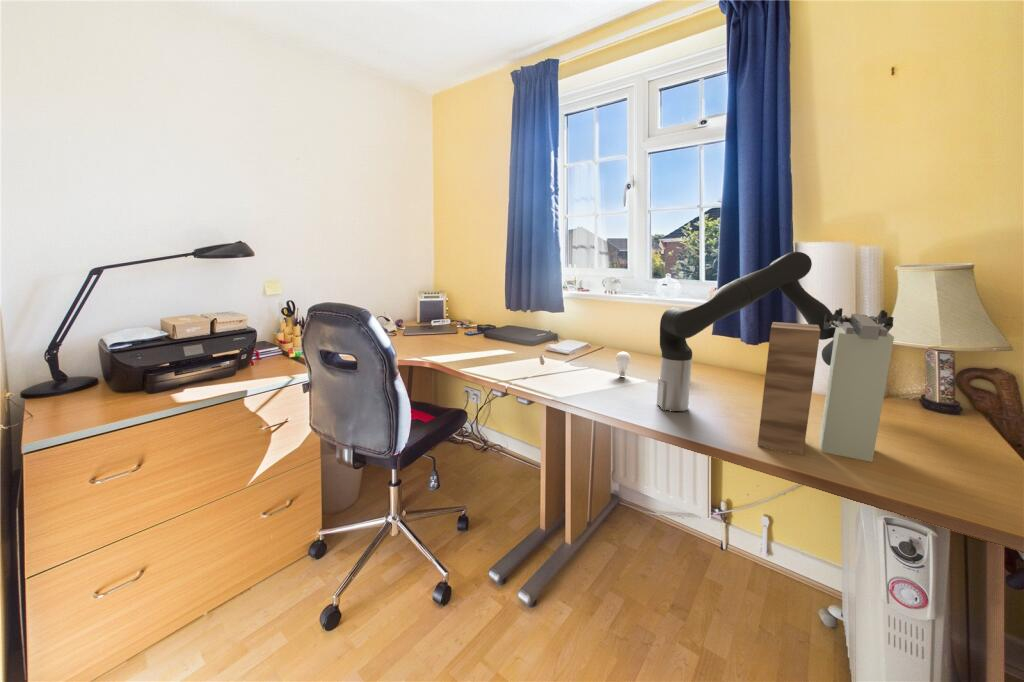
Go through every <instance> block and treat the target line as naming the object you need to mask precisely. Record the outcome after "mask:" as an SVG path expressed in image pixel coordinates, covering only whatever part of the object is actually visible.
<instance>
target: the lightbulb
mask: <svg viewBox="0 0 1024 682" xmlns="http://www.w3.org/2000/svg"><path fill="white" fill-rule="evenodd" d="M631 360H632V357H631V355H630V354H629V353H628V352H626V351H620V352H618V353H617V354H616V355H615V357H614V362H615V364H616V365H617V367H618V376H619V375H620V376H625V375H626V373H627V369H628V367H629V365H630V364H631V363H632V361H631ZM620 376H619V377H620ZM625 377H626V376H625Z"/></svg>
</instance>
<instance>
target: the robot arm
mask: <svg viewBox="0 0 1024 682" xmlns="http://www.w3.org/2000/svg"><path fill="white" fill-rule="evenodd" d="M812 266H813V262H812V258H811V257H810V256H809V255H808V254H806V253H804V252H802V251H791V252H788V253H786V254H784V255H782V256H780V257H778V258H776V259H774V260H773V261H772V262H771V263H769V265H767V266H766V267H764V268H762V269H760V270H759V269H758V270H756V271H754V272H750V273H748V274H746V275H744V276H741V277H739V278H735V279H734V280H732V281H731V282H728V283H726V284H724V285H723V286H722V285H721V287H719V288H718V289H717V290H716V291H715V292H714V293H713V295H712V296H711V298H710V299H708V300H707V301H705V302H703V303H702V304H700V305H699V304H698V306H695V307H692V308H689V309H687V308H681V307H670V308H668V309H666V310H665V311H664V312H663V313H662V316H661V318H660V323H659V347H660V350H661V359H660V361H661V362H660V373H659V375H660V376H659V377H658V379H657V393H656V405H657V404H658V405H659V406H660V407H661V409H666V410H671V411H684V412H686V411H685V410H687V409H688V410H689V403H690V402H689V400H690V386H691V375H692V362H693V350H692V348H691V347H690V346H689V345H688V342H687V339H690V338H692V337H694V336H696V335H698V334H699V333H700V332H702V331H704V330H705V329H706V328H708V327H710V326H711V325H713V324H714V323H716V322H718V321H720V320H722V319H725V318H726V317H728V316H730V315H732V314H734V313H736V312H738V311H741V310H742V309H745V307H748V306H750V305H752V304H754V303H755V302H757V301H758V300H761V299H762V298H764V297H766V296H767V295H768V294H769V293H771V292H772V291H774V290H776V289H777V288H778V289H779V290H780V291H781V293H783V294H784V296H785V297H786V298H787V299H788V300H789V301H790V302H791V303H792V304H793V305H794V307H795V308H796V309H797V311H799V313H800V314H801V315H802V317H803V318H804V320H805V321H806V324H812V325H819V328H820V337H819V341H820V340H821V341H823V340H824V341H825V340H829V339H832V340H831V341H830V342H828V343H827V344H826V345H825V346H824V347H823V348H822V350H821V358H822V361H823V362H824V363H825V364H826V365H827V366H829V367H830V364H831V357H832V350H833V343H834V336H835V329H836V327H840V328H842V325H843V322H849V323H850V321H851V316H847V315H845V314H843V310H844V309H843V308H842V307H840V308H838V309H836V310H834V313H832V311H831V310H830V309H829V308H828V306H826V305H825V304H824V303H823V302H821V301H820V300H818V299H817V298H815V297H814V296H813V295H811V294H810V293H808V291H806V290H805V289H804V287H803V286H802V285H801V283H800V281H799V280H800V279H803V278H805V277H806V276H807V275H808V274H809V273H810V271H811V270H812ZM888 315H889V314H888V312H887V311H886V310H885V309H883V310H880V312H879V314H878V315H877V316H874V315H871V316H868V317H869V318H871V319H872V320H873V321H874V322H875V323H876V324H881V325H882V326H883V327H884V328H886V329H887V330H888V332H889V333H890V330H891V329H893V327H894V317H893V316H888ZM658 405H657V406H658ZM659 406H658V407H659ZM660 407H659V408H660ZM666 410H665V411H666ZM688 410H687V411H688ZM671 411H670V412H671Z"/></svg>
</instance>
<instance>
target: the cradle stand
mask: <svg viewBox="0 0 1024 682" xmlns="http://www.w3.org/2000/svg"><path fill="white" fill-rule="evenodd" d="M878 325H879V326H880V331H879V337H878V340H871V339H861V338H860V337H859V336H858V335H857V333H856V332H855V331H854V330H853V327H852V326H851V324H850V323H849V322H843V325H842V328H840V327H836V329H835V336H834V343H833V350H832V357H831V364H830V366H829V369H828V370H829V371H828V379H827V385H826V392H825V400H824V406H823V414H822V419H821V426H820V432H819V443H820V451H821V453H826V454H831V455H835V456H840V457H846V458H852V459H857V460H861V461H867V462H871V463H872V462H873V458H874V456H875V455H874V454H875V449H876V444H877V438H878V432H879V426H880V420H881V416H882V415H881V413H882V409H883V403H884V397H885V393H886V392H885V391H886V385H887V381H888V380H887V379H888V376H889V368H890V362H891V357H892V350H893V346H894V339H895V337H894V336H893V335H892V334H891V333H890V331H889V332H888V330H887V329H886V328H884V327H883V326H882V325H881V324H878Z"/></svg>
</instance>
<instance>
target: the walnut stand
mask: <svg viewBox="0 0 1024 682" xmlns="http://www.w3.org/2000/svg"><path fill="white" fill-rule="evenodd" d="M819 337H820V328H819V325H812V324H808V323H796V322H795V323H793V322H778V321H773V322H772V323H771V326H770V333H769V342H768V352H767V360H766V366H765V367H766V368H765V376H764V385H763V392H762V393H763V395H762V402H761V403H762V405H761V411H760V413H761V414H760V420H759V429H758V437H757V438H758V439H757V445H758V446H757V447H759V446H763V447H762V448H764V447H767V448H766V449H769V448H772V449H771V450H774V449H776V450H775V451H779V450H781V451H780V452H783V451H785V452H784V453H788V452H791V453H790V454H793V453H794V455H798V454H799V455H798V456H804V452H805V445H806V436H807V429H808V425H809V424H808V423H809V415H810V408H811V401H812V394H813V386H814V380H815V372H816V366H817V358H818V350H819V343H820V339H819Z"/></svg>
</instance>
